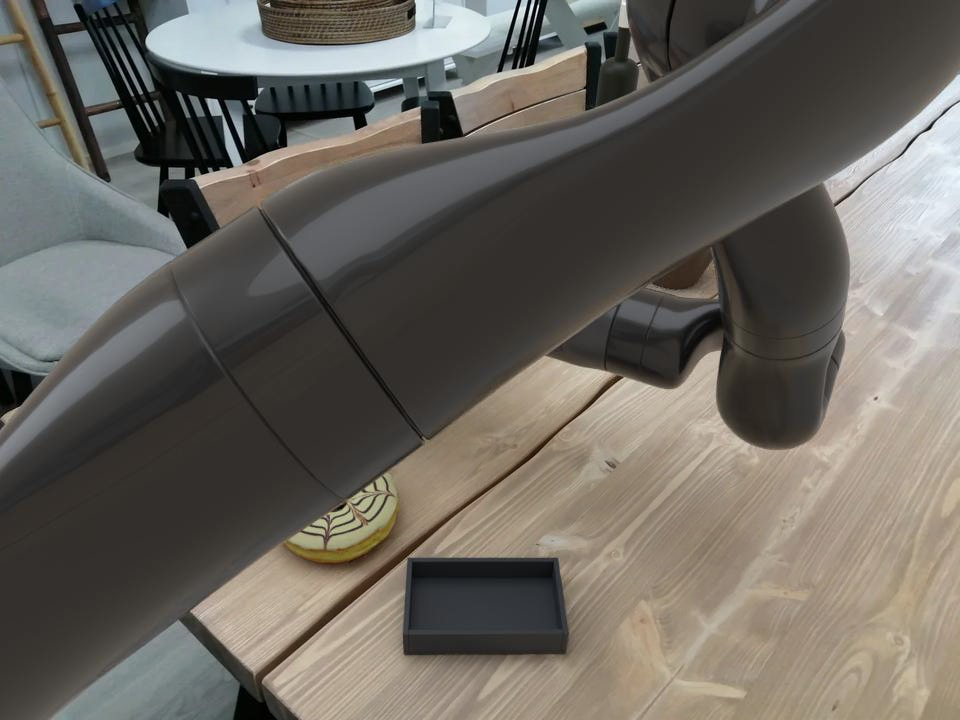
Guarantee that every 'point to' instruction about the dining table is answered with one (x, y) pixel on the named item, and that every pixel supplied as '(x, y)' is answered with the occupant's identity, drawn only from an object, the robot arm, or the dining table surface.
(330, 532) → the decorated donut
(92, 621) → the robot arm
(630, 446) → the dining table surface
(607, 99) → the wine bottle
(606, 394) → the dining table surface
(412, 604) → the tray
